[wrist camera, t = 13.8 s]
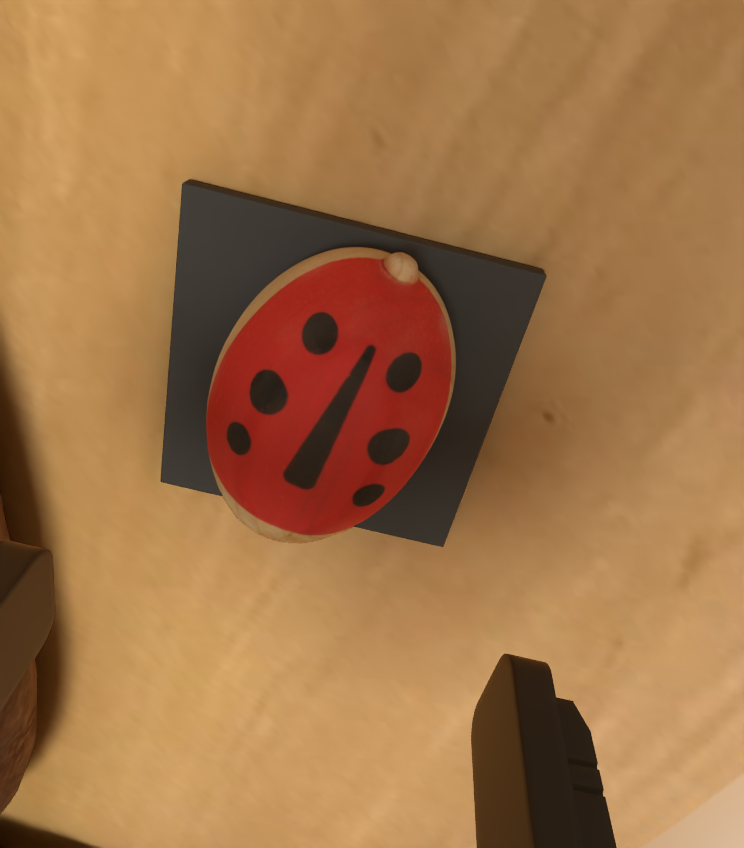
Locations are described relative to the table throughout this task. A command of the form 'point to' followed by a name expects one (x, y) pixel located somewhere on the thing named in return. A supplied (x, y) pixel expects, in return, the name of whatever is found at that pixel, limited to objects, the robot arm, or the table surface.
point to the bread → (16, 722)
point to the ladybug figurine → (329, 393)
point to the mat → (287, 246)
